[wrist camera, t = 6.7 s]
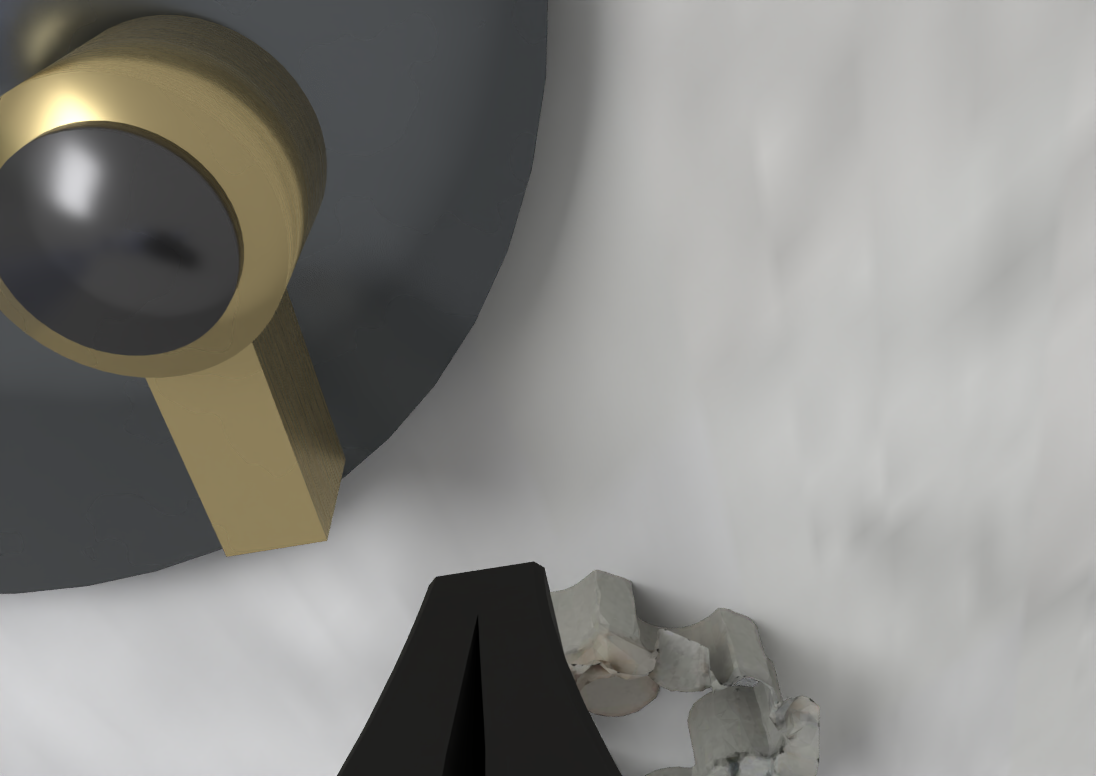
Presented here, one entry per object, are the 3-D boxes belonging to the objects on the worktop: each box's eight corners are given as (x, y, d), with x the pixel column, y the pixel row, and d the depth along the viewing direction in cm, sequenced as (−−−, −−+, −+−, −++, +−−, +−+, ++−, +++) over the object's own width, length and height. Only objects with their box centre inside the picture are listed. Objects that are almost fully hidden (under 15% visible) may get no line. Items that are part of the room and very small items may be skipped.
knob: (4, 42, 15) (-135, 116, 12) (280, -10, 15) (217, 48, 12) (196, 472, 20) (134, 613, 16) (412, 437, 19) (394, 572, 16)
